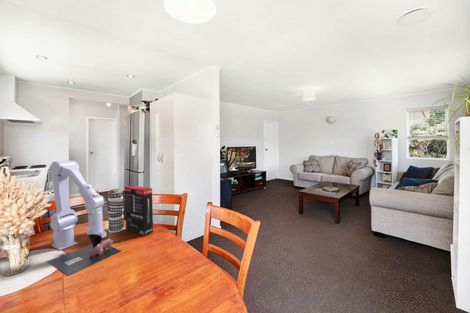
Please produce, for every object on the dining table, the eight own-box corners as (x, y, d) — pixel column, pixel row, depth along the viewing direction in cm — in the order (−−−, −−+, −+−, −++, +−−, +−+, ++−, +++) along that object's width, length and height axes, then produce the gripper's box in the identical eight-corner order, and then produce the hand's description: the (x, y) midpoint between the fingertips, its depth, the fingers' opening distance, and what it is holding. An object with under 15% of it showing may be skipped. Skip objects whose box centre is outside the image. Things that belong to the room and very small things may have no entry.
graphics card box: (154, 232, 124) (153, 187, 123) (144, 236, 118) (143, 189, 116) (134, 227, 132) (133, 184, 130) (124, 231, 126) (123, 186, 124)
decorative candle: (114, 226, 133) (113, 187, 131) (128, 227, 132) (127, 188, 130) (104, 232, 124) (102, 190, 122) (118, 233, 123) (117, 191, 121)
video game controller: (94, 261, 96) (100, 248, 95) (87, 255, 96) (92, 243, 95) (111, 250, 105) (116, 239, 104) (104, 245, 106) (109, 234, 105)
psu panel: (47, 261, 93) (47, 261, 93) (99, 241, 112) (99, 241, 112) (68, 275, 83) (68, 275, 83) (121, 251, 102) (121, 250, 102)
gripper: (78, 221, 101) (80, 248, 102) (94, 226, 94) (95, 255, 95) (94, 216, 108) (95, 242, 108) (110, 221, 100) (111, 249, 101)
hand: (96, 248), depth 102 cm, fingers closed
